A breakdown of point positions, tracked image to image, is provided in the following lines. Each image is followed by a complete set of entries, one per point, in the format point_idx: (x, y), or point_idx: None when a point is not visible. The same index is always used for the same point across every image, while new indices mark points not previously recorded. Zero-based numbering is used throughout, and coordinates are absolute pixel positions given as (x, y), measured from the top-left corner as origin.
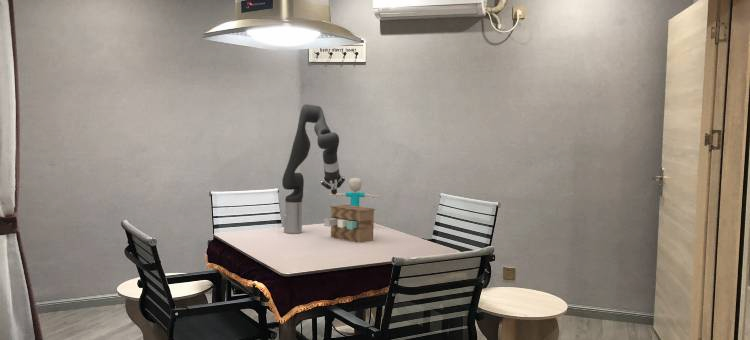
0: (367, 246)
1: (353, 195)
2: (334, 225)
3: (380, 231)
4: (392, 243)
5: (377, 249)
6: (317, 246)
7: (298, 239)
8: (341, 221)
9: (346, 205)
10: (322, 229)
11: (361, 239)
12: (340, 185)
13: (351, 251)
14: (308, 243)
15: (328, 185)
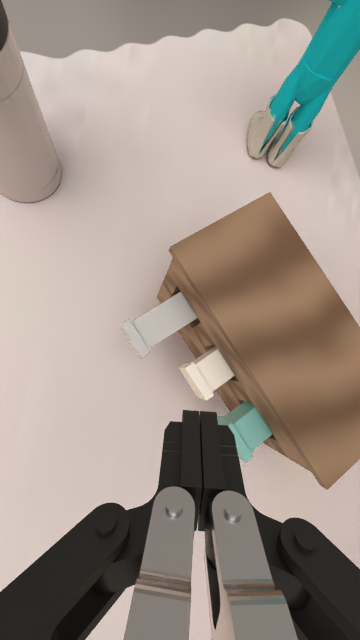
0: (257, 506)
1: (354, 6)
2: None
3: (339, 222)
4: None
5: None
6: (64, 495)
7: (15, 327)
8: (200, 393)
9: (273, 239)
10: (153, 139)
11: None
12: (323, 620)
13: None
14: (39, 423)
15: (106, 568)
